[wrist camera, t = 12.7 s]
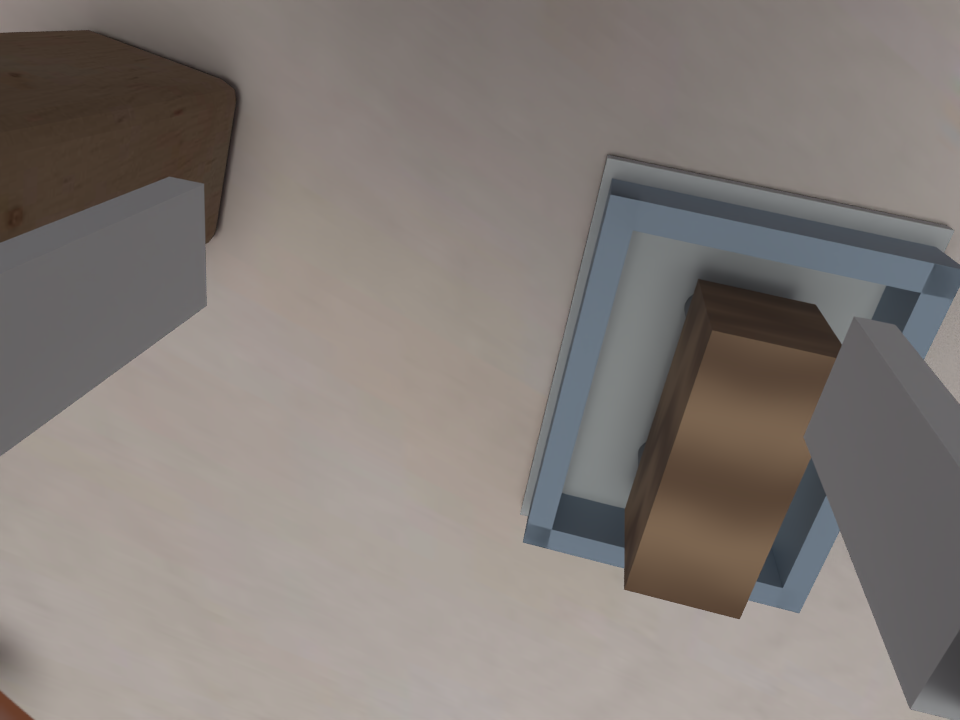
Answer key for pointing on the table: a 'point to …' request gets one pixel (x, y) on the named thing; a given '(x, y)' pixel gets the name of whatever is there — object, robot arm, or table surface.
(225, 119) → the wooden block
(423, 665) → the table surface
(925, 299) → the peg frame
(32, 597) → the table surface
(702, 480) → the brown wooden bar
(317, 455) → the table surface
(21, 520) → the table surface
